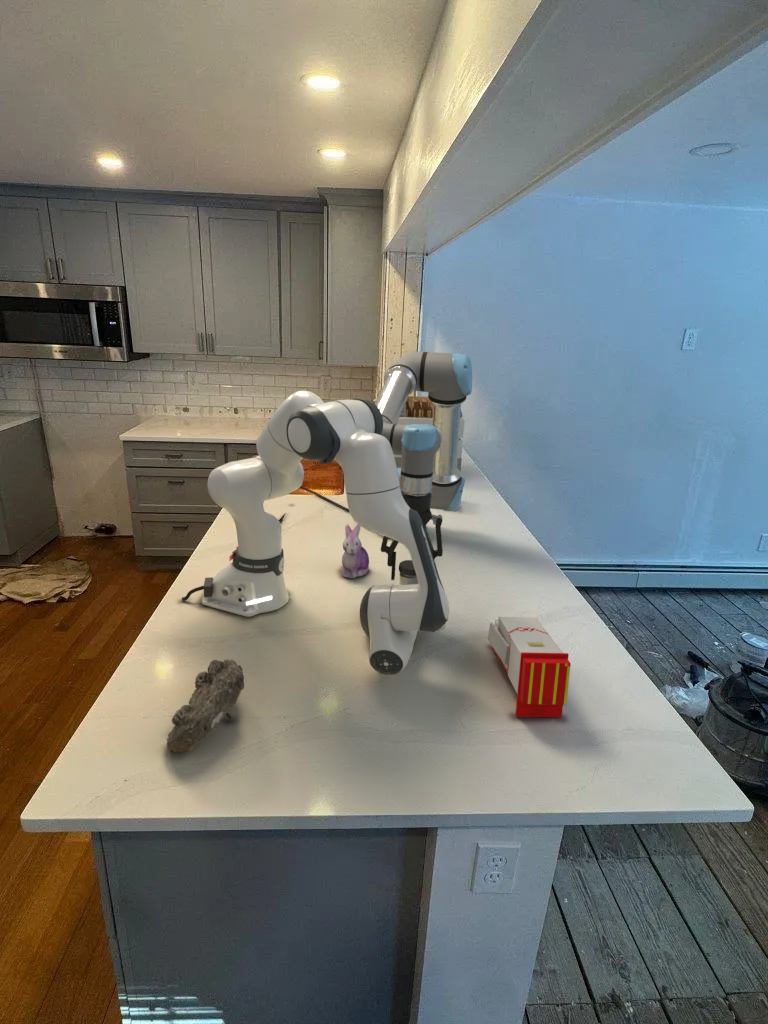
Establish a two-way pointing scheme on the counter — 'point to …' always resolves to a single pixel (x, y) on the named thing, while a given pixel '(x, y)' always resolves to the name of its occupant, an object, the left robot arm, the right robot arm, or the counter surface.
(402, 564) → the lid
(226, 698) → the fossil
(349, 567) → the figurine
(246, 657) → the counter surface
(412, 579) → the thermos bottle
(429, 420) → the transformer
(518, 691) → the toy
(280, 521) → the feather
